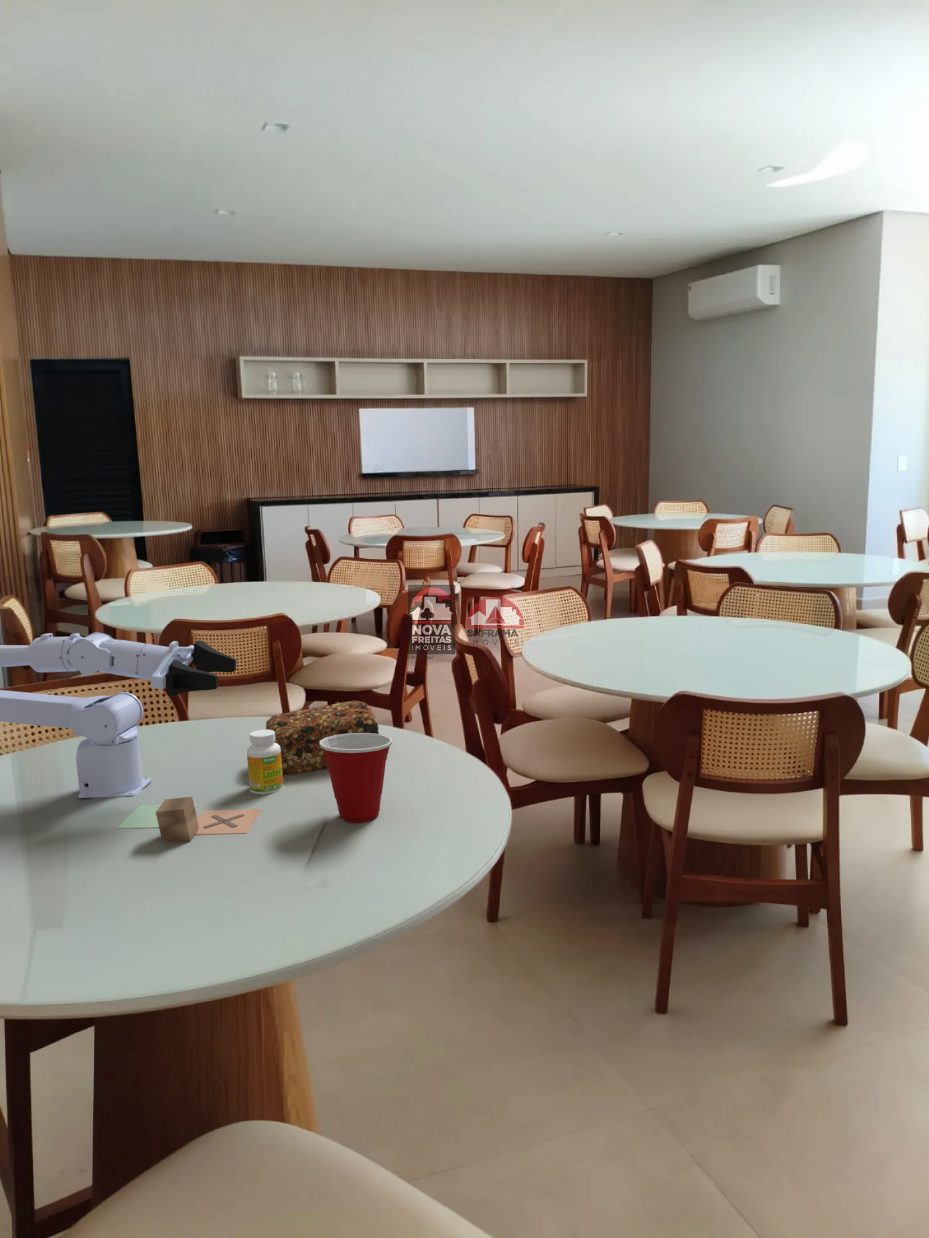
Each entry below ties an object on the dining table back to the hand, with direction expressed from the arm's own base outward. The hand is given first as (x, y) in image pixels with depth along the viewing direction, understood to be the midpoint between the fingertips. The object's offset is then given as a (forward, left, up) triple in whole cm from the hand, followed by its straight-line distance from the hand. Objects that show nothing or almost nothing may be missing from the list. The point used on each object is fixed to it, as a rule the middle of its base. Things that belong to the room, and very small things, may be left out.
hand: (226, 673), depth 146 cm
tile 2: (+2, -14, -20) cm, 24 cm away
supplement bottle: (+5, 0, -20) cm, 21 cm away
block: (-3, -19, -19) cm, 27 cm away
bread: (+12, +14, -20) cm, 27 cm away
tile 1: (-9, -11, -20) cm, 24 cm away
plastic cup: (+22, -12, -20) cm, 32 cm away
